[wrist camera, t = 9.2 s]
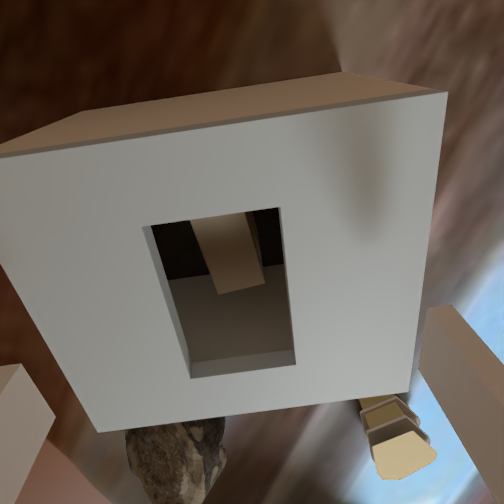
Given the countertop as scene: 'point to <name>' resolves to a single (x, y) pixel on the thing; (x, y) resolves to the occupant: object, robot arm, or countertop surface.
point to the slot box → (221, 203)
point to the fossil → (177, 459)
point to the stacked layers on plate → (394, 437)
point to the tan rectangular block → (230, 250)
